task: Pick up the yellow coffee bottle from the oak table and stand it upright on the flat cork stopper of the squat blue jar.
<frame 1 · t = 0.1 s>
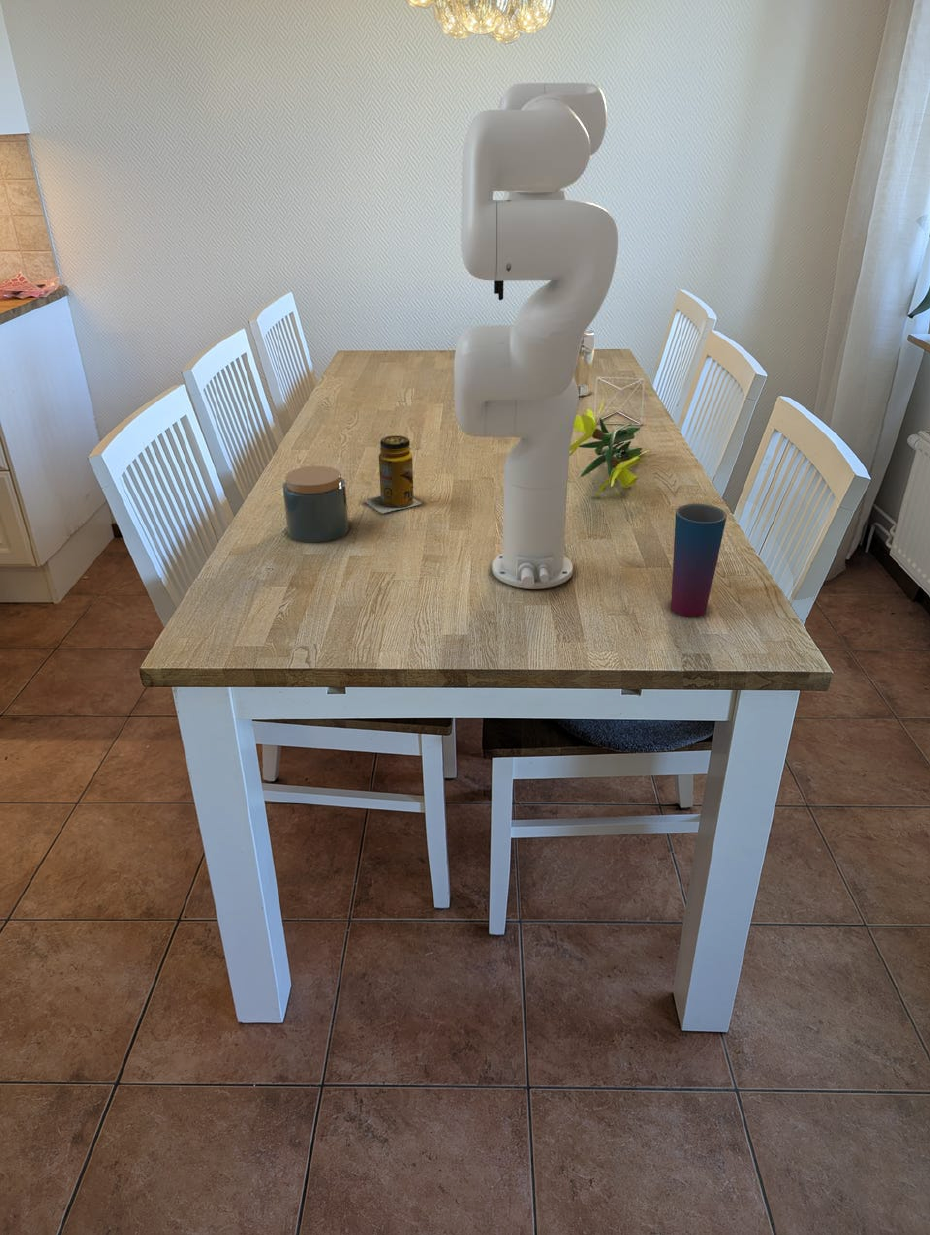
hand: (530, 298, 146), 37 cm above the table, tool pointing down, fingers open, 9 cm apart
beer glass: (577, 394, 230), on the table
daffodil flowers: (607, 477, 179), on the table
geometric polyhedron: (617, 421, 211), on the table
cup: (688, 609, 133), on the table
blue jar: (318, 530, 158), on the table
yellow coffee bottle: (392, 504, 168), on the table
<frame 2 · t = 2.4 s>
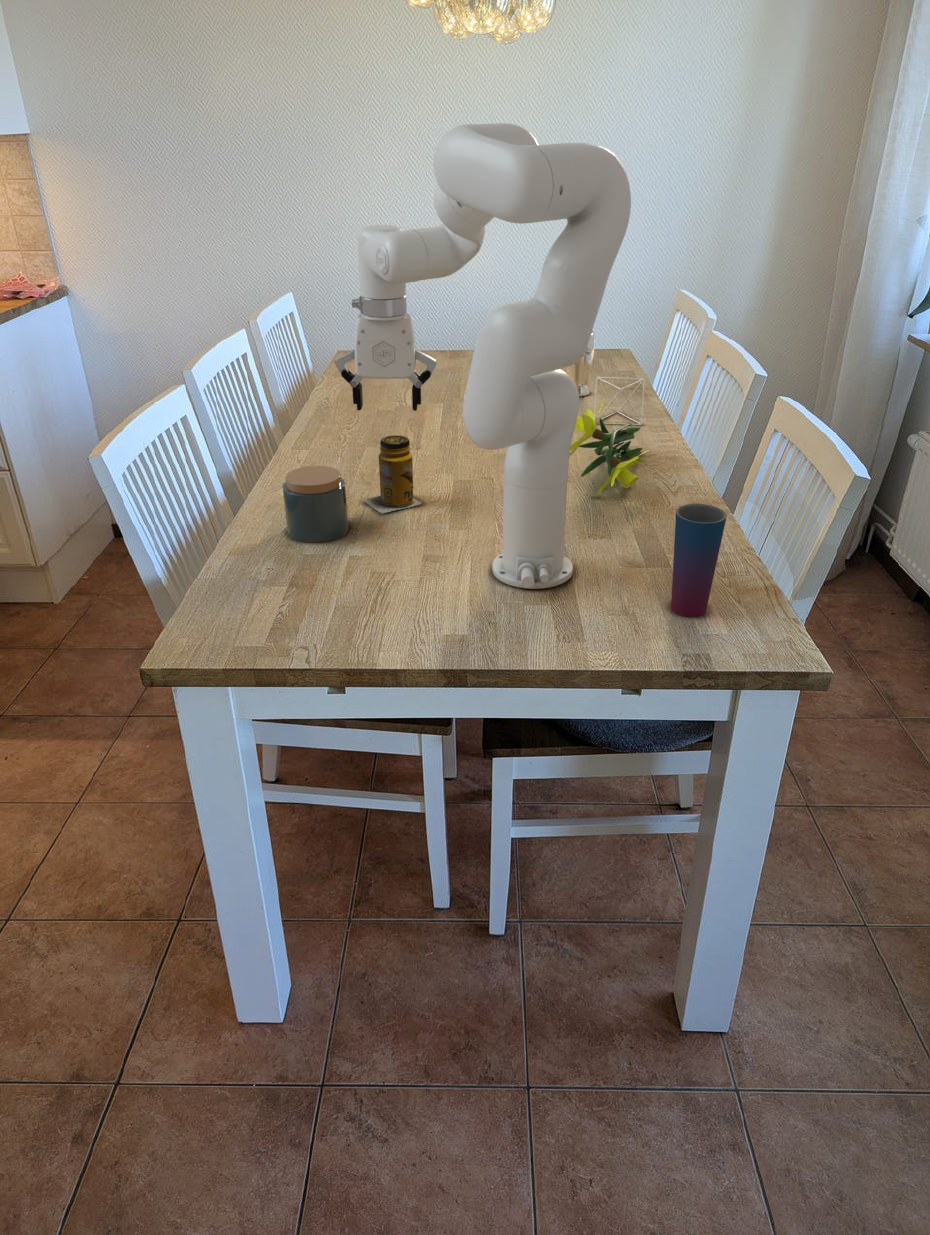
hand: (387, 408, 160), 18 cm above the table, tool pointing down, fingers open, 9 cm apart
nothing on the table moved.
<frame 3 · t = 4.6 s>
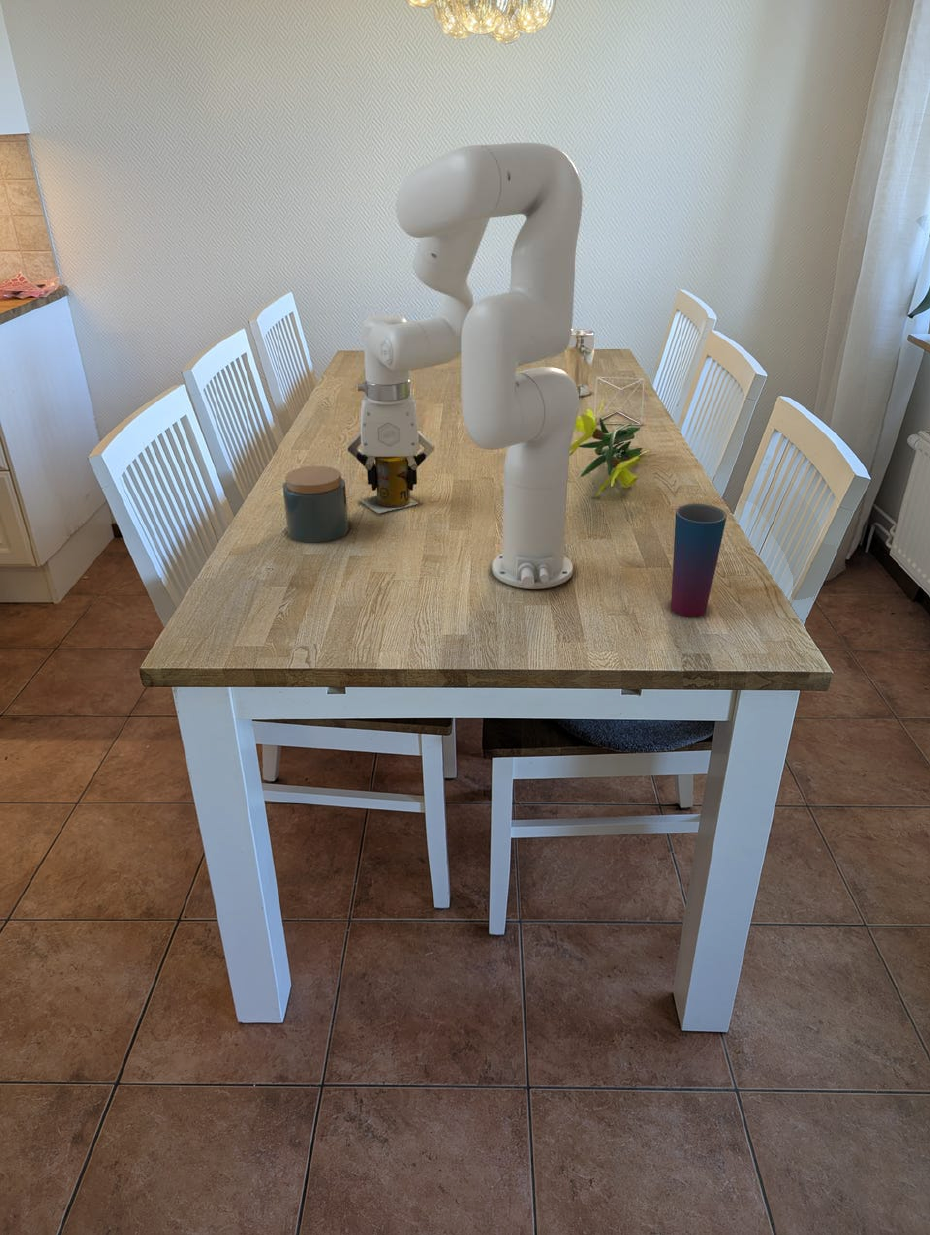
hand: (392, 487, 167), 3 cm above the table, tool pointing down, fingers closed on yellow coffee bottle, 6 cm apart
yellow coffee bottle: (389, 503, 168), on the table, touching gripper
everything else where it was.
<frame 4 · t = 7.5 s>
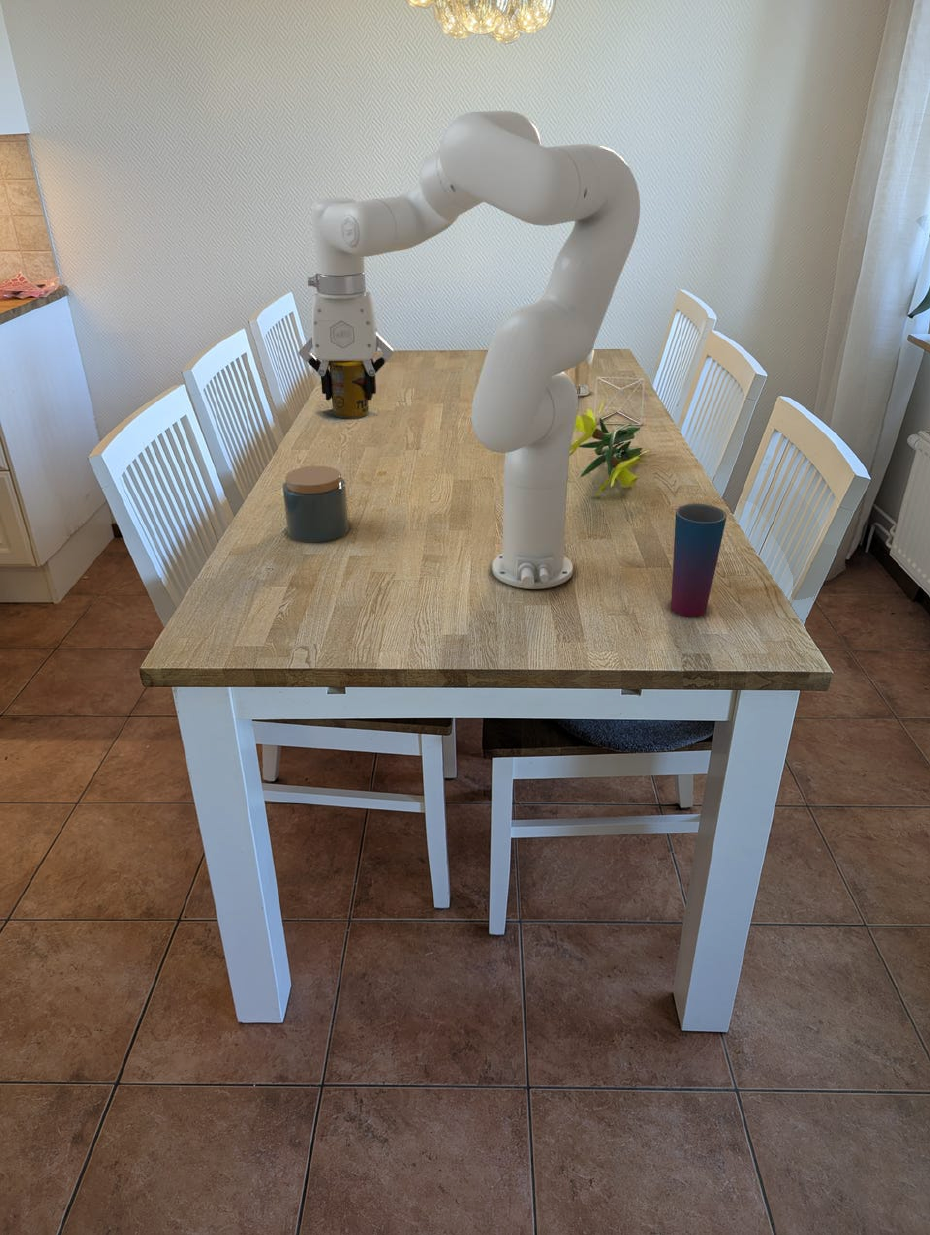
hand: (349, 397, 152), 21 cm above the table, tool pointing down, fingers closed on yellow coffee bottle, 6 cm apart
yellow coffee bottle: (346, 416, 154), point 18 cm above the table, touching gripper
everything else where it was.
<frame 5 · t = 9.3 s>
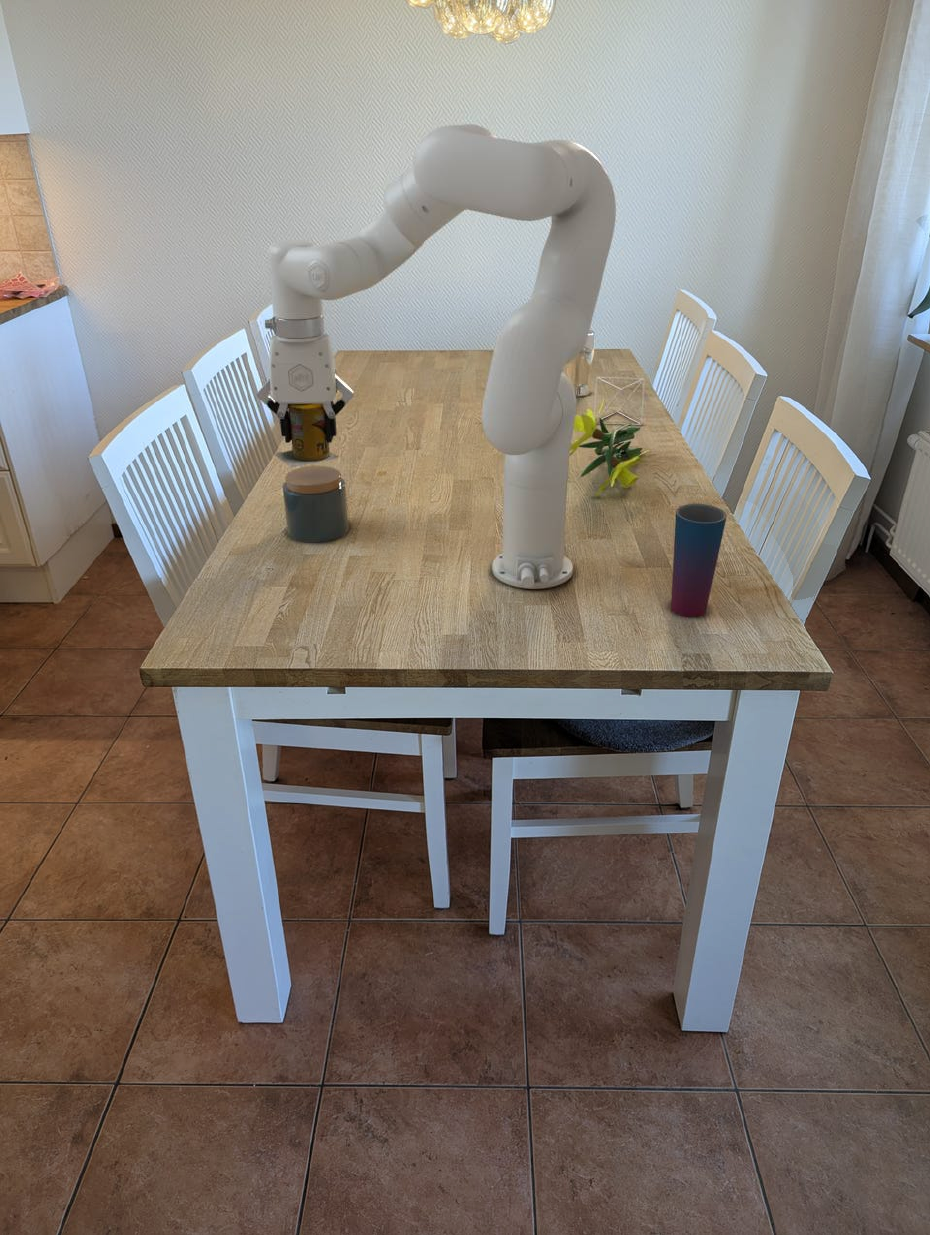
hand: (309, 439, 150), 16 cm above the table, tool pointing down, fingers closed on yellow coffee bottle, 6 cm apart
yellow coffee bottle: (306, 458, 151), point 13 cm above the table, touching gripper
everything else where it was.
when the fingers open (13 cm above the table, at t = 10.7 s): yellow coffee bottle stays where it is, resting on blue jar.
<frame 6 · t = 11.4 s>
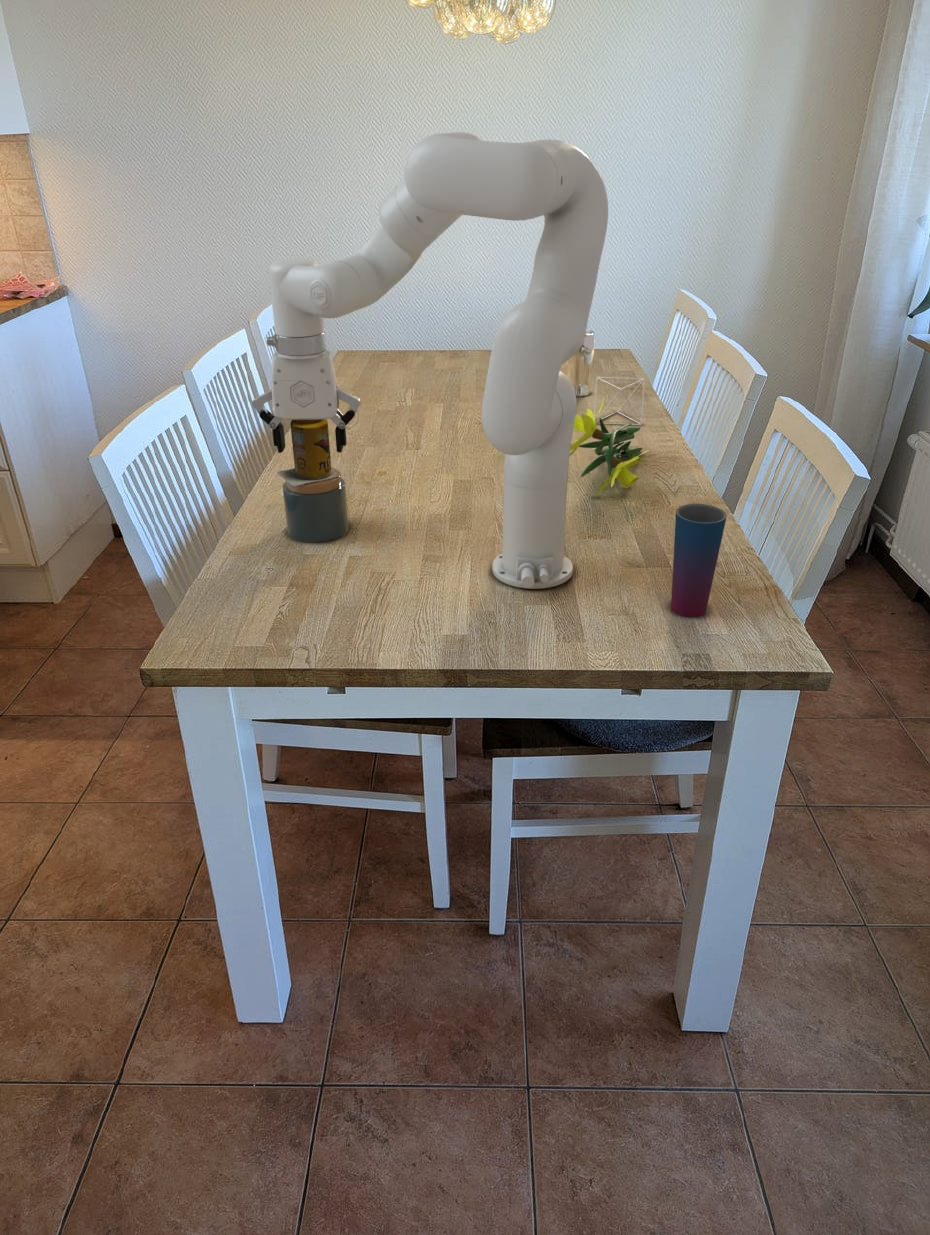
hand: (311, 450, 151), 14 cm above the table, tool pointing down, fingers open, 9 cm apart
yellow coffee bottle: (308, 476, 153), point 10 cm above the table, touching blue jar
everything else where it was.
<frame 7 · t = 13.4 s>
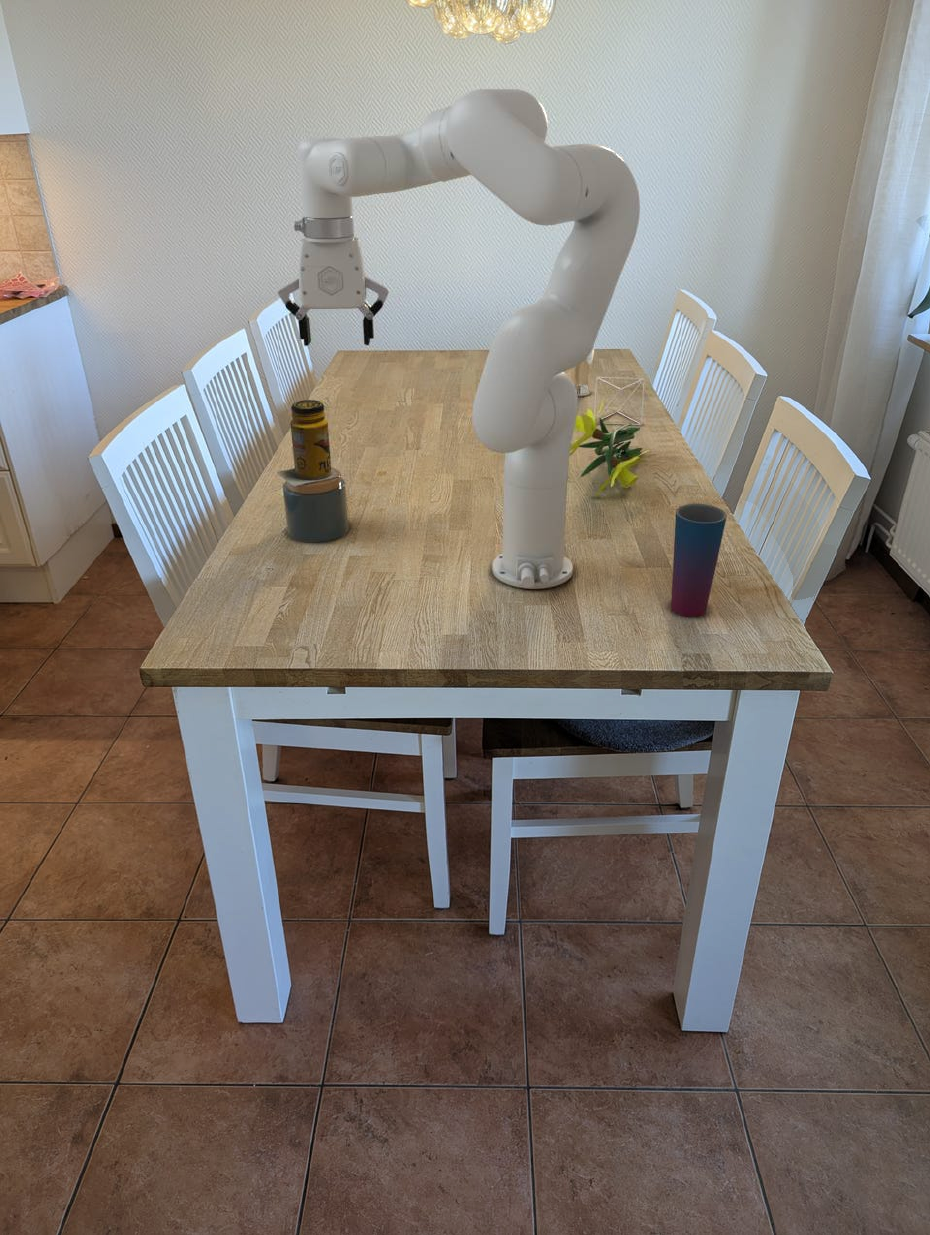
hand: (337, 343, 148), 30 cm above the table, tool pointing down, fingers open, 9 cm apart
nothing on the table moved.
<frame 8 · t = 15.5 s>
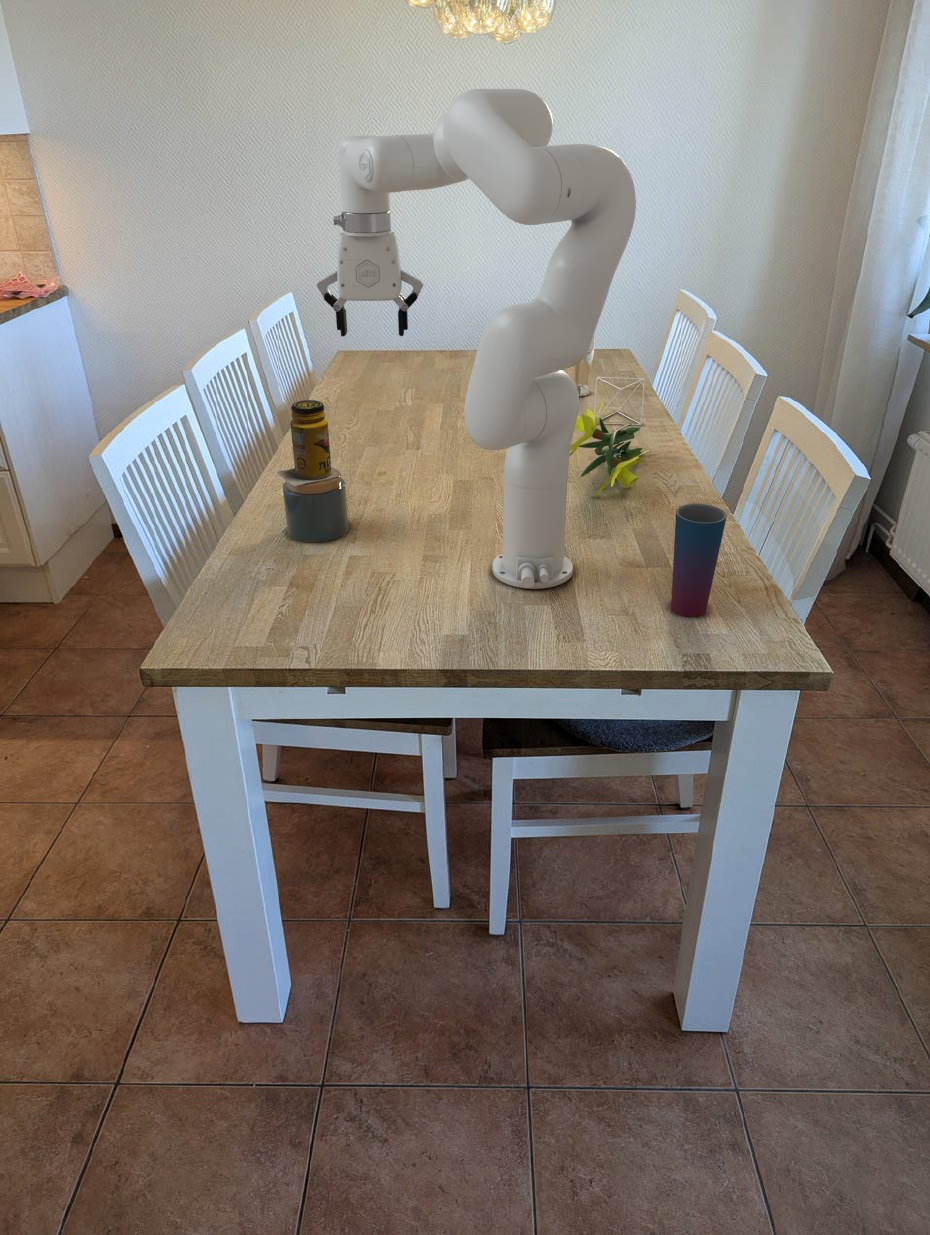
hand: (372, 334, 153), 30 cm above the table, tool pointing down, fingers open, 9 cm apart
nothing on the table moved.
at the end: yellow coffee bottle 0.7 cm off-centre on the blue jar, point 9.8 cm above the blue jar's base; yellow coffee bottle tilted 0°; the gripper is holding nothing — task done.
